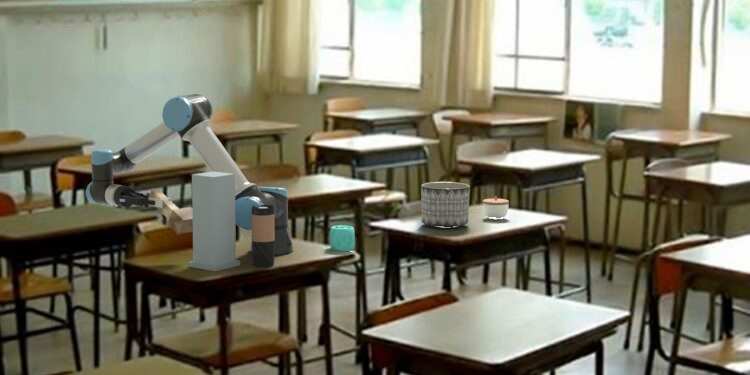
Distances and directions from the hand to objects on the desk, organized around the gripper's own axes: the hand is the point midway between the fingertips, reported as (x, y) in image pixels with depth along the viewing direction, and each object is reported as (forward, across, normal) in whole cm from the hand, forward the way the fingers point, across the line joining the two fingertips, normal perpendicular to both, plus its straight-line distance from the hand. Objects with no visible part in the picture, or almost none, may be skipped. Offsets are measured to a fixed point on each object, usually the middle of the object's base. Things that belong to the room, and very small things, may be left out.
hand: (166, 203), depth 422 cm
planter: (+40, -112, -19) cm, 120 cm away
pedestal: (+23, 0, -19) cm, 30 cm away
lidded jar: (+46, -140, -19) cm, 148 cm away
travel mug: (+34, -11, -19) cm, 41 cm away
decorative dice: (+37, -50, -19) cm, 65 cm away
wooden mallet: (+2, 0, -5) cm, 5 cm away
